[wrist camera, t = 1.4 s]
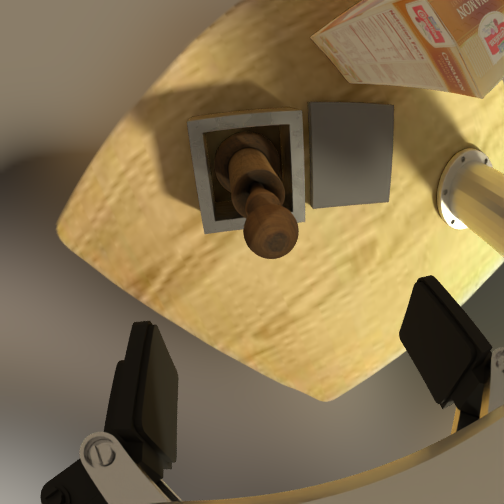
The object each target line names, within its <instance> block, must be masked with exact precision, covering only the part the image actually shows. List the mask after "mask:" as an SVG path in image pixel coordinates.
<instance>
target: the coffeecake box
mask: <svg viewBox="0 0 504 504" xmlns="http://www.w3.org/2000/svg"><path fill="white" fill-rule="evenodd" d="M310 38H311V39H312V40H313V42H314V43H315V44H316V45H317V46H318V47H319V48H320V49H321V50H322V51H323V52H324V53H325V54H326V56H327V57H328V58H329V59H330V60H331V62H332V63H333V64H334V65H335V66H336V68H337V69H338V70H339V71H340V73H341V74H342V75H343V76H344V78H345V79H346V80H347V81H348V83H350V84H355V83H356V84H378V85H393V86H404V87H414V88H423V89H431V90H438V91H444V92H451V93H457V94H462V95H467V96H472V97H477V98H481V99H483V98H484V97H485V96H486V95H487V94H488V93H489V92H490V91H491V90H492V89H493V88H494V87H495V86H496V85H497V84H498V83H499V82H500V81H501V80H502V79H503V78H504V0H362V1H361V2H359V3H357V4H356V5H354V6H353V7H351V8H350V9H348V10H347V11H345V12H344V13H342V14H341V15H340V16H338V17H337V18H335V19H334V20H332V21H331V22H330V23H328V24H327V25H326V26H324V27H323V28H322V29H320V30H319V31H318V32H316V33H315V34H314V35H312V36H311V37H310Z"/></svg>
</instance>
